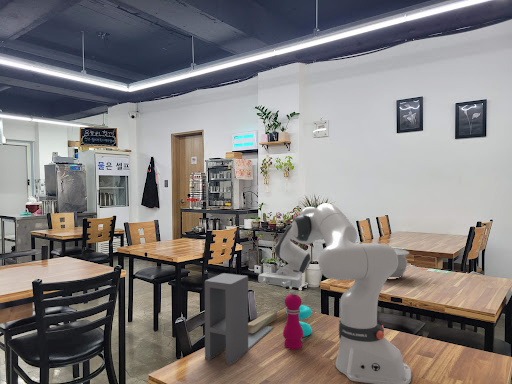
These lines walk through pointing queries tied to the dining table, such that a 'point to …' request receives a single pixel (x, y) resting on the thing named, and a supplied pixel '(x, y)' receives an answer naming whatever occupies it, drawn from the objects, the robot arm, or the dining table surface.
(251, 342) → the mat
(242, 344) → the stand
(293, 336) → the pepper mill
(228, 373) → the dining table surface
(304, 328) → the donuts
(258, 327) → the bar
